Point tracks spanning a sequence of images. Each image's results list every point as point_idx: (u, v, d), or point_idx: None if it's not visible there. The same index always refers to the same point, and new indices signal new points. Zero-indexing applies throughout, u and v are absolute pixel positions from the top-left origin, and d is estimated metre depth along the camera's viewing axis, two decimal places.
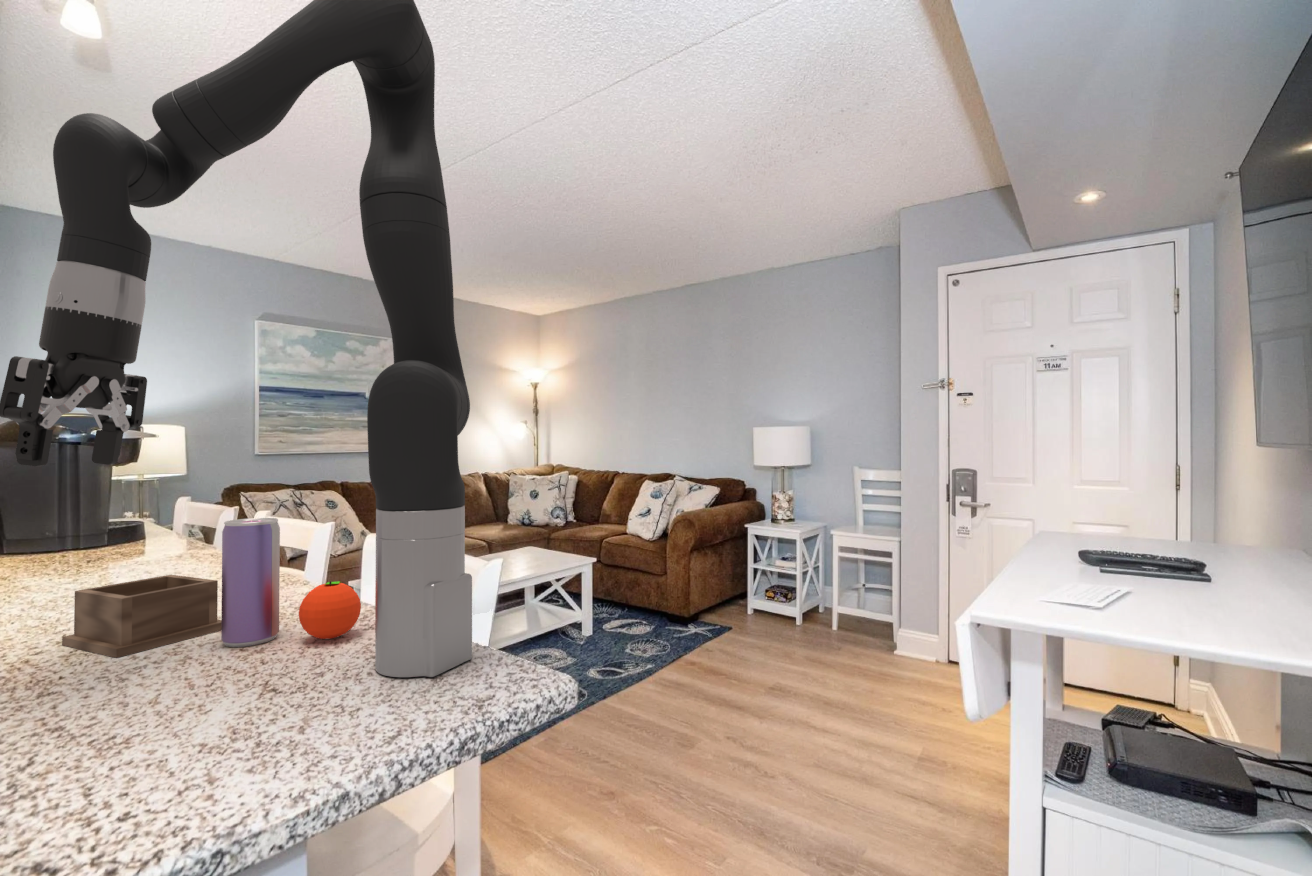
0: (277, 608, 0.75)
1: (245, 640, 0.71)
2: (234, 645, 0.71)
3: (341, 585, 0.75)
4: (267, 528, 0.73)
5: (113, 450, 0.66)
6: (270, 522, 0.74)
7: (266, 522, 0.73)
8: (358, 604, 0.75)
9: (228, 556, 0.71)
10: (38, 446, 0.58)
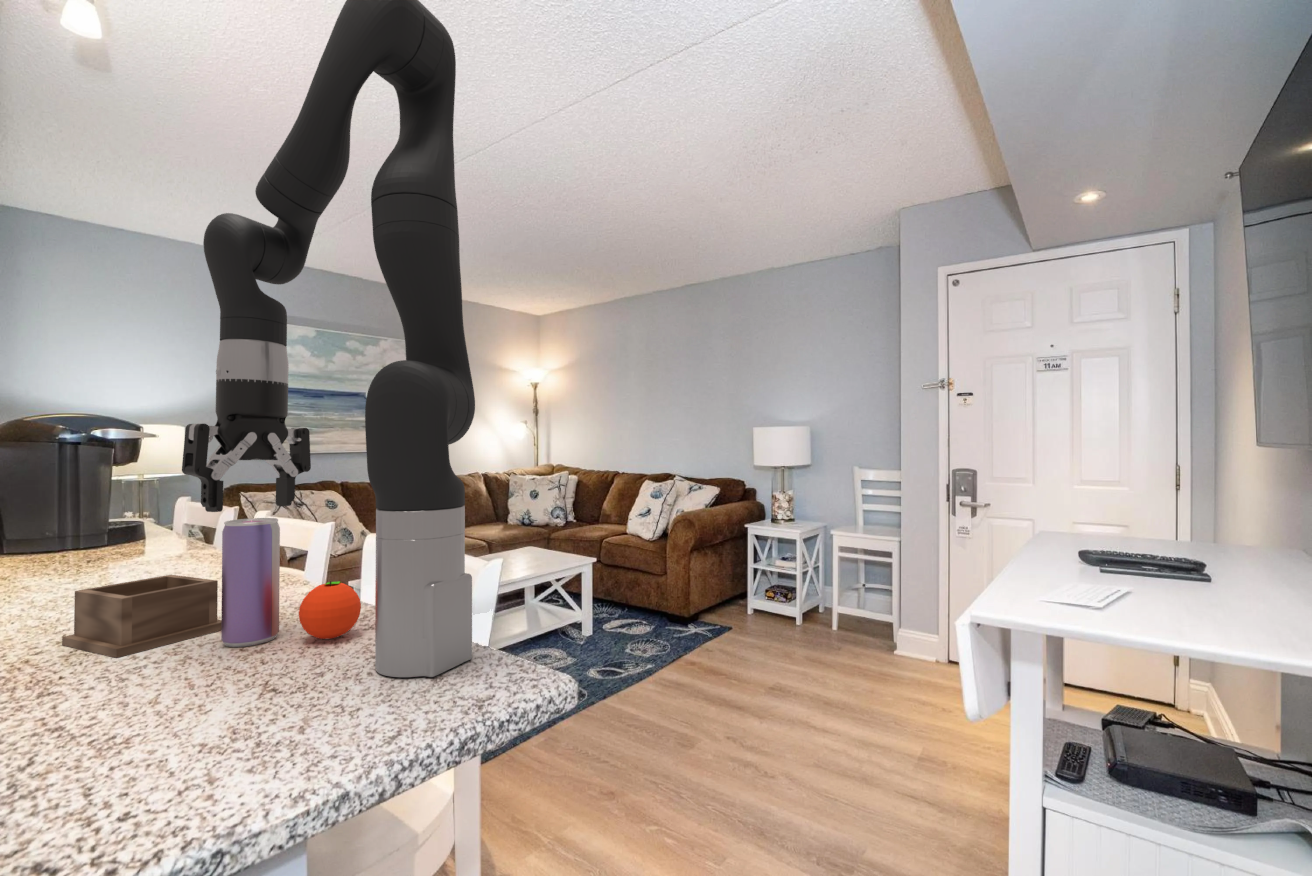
0: (277, 608, 0.75)
1: (245, 640, 0.71)
2: (234, 645, 0.71)
3: (341, 585, 0.75)
4: (267, 528, 0.73)
5: (286, 493, 0.77)
6: (270, 522, 0.74)
7: (266, 522, 0.73)
8: (358, 604, 0.75)
9: (228, 556, 0.71)
10: (213, 495, 0.69)
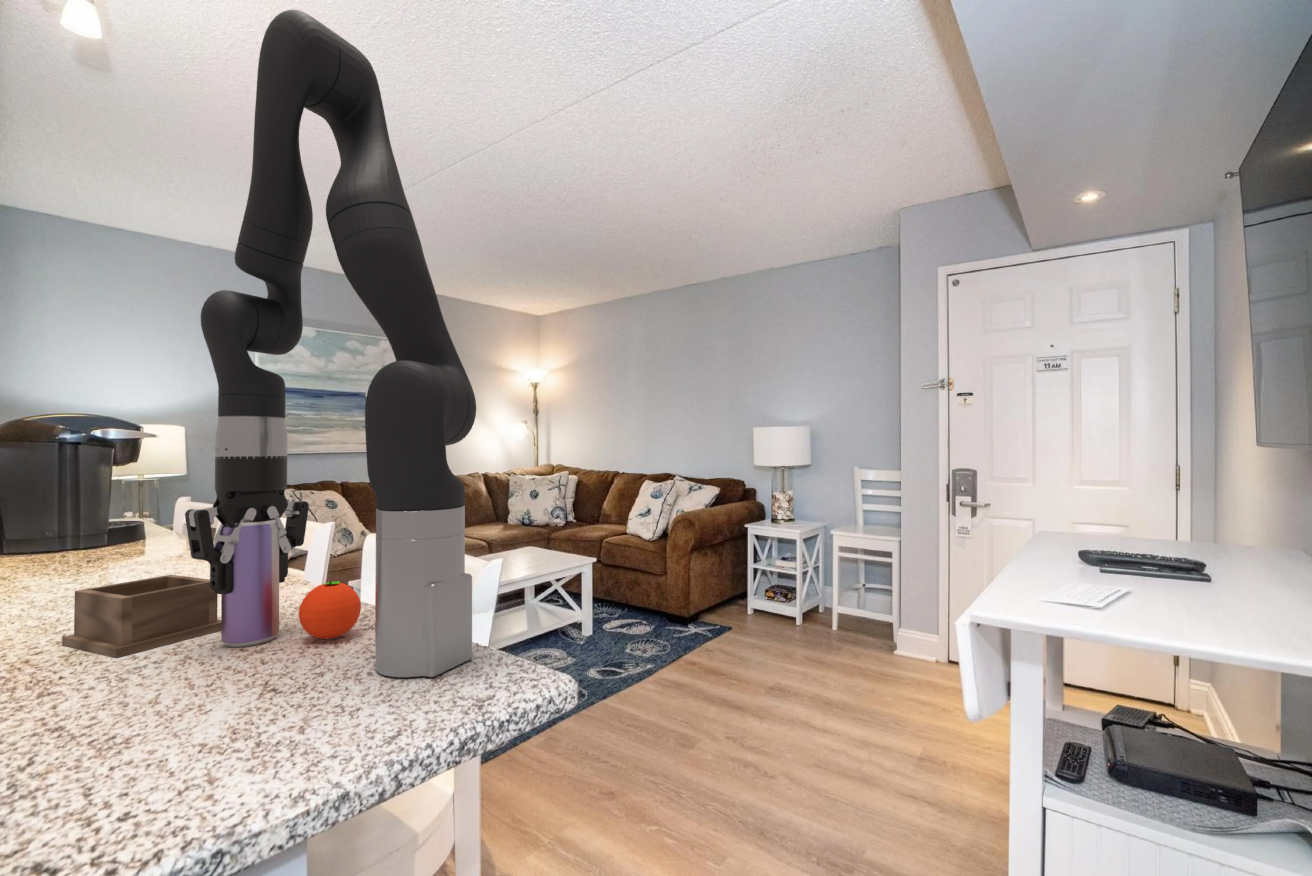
0: (277, 608, 0.75)
1: (244, 640, 0.71)
2: (234, 645, 0.71)
3: (341, 585, 0.75)
4: (267, 528, 0.73)
5: (279, 570, 0.76)
6: (269, 522, 0.74)
7: (265, 522, 0.73)
8: (358, 604, 0.75)
9: None
10: (222, 578, 0.70)
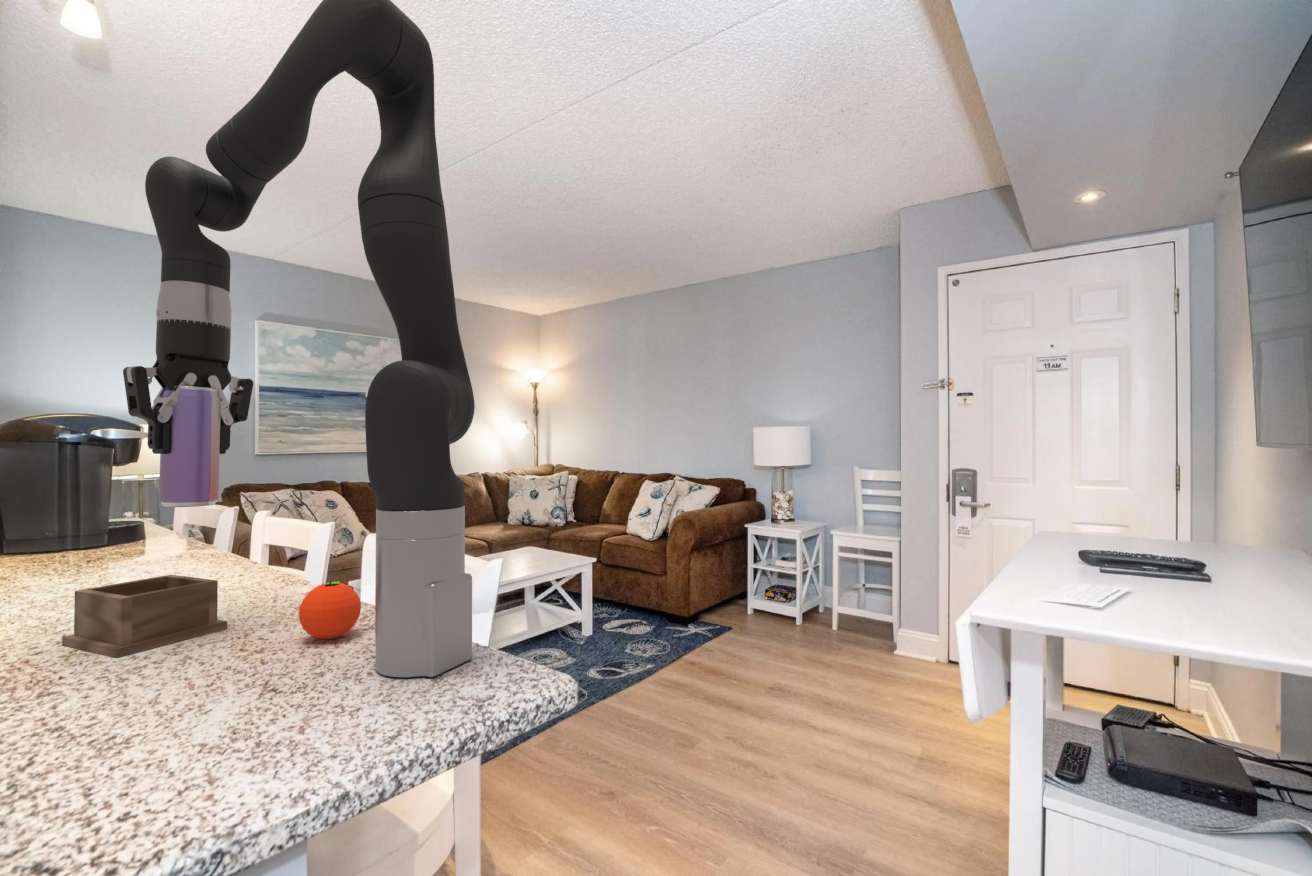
0: (216, 475, 0.76)
1: (181, 500, 0.73)
2: (171, 505, 0.73)
3: (341, 585, 0.75)
4: (207, 394, 0.75)
5: (220, 441, 0.78)
6: (210, 389, 0.75)
7: (206, 388, 0.75)
8: (358, 604, 0.75)
9: None
10: (160, 437, 0.72)
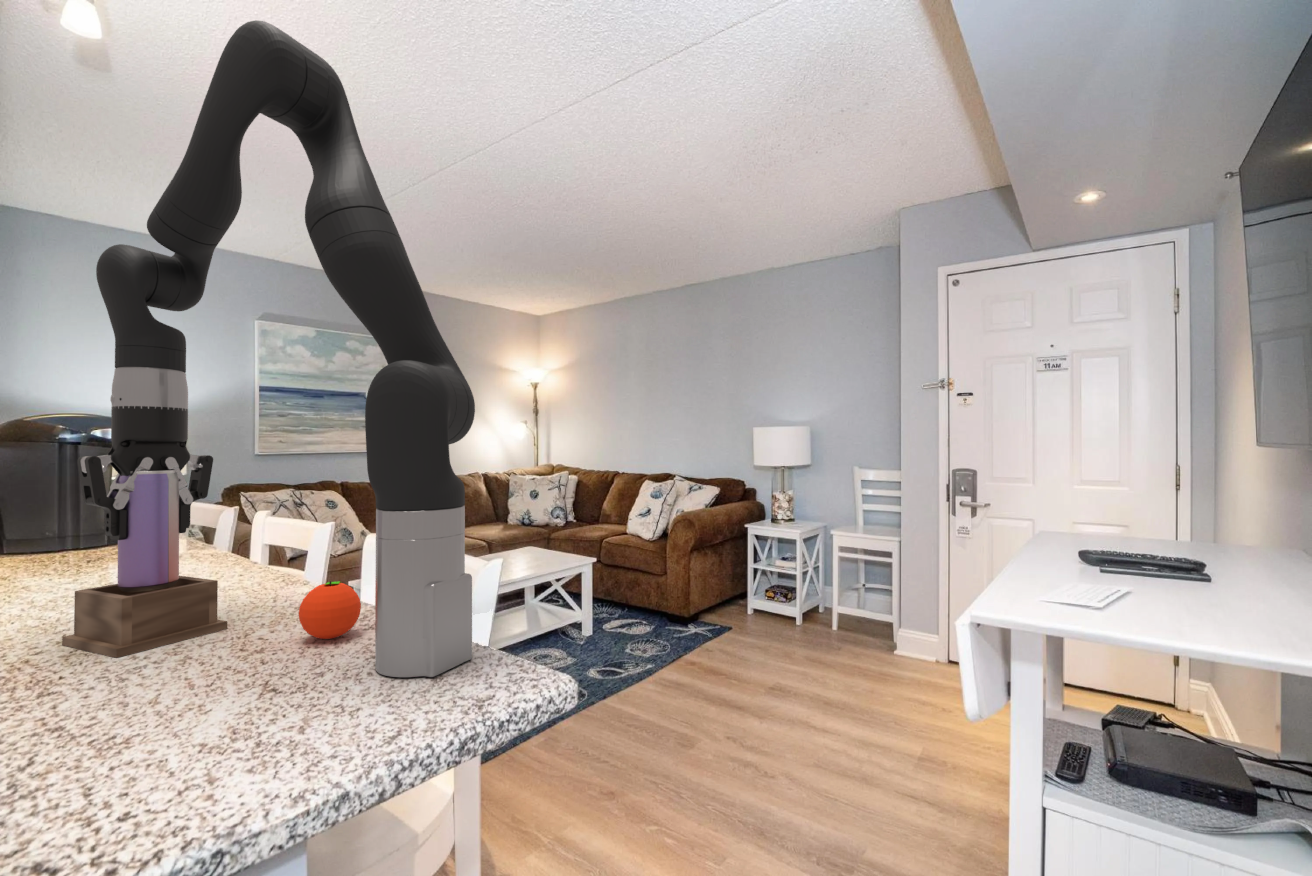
0: (175, 556, 0.76)
1: (139, 585, 0.73)
2: (129, 590, 0.73)
3: (341, 585, 0.75)
4: (163, 477, 0.75)
5: (180, 521, 0.78)
6: (167, 472, 0.75)
7: (162, 471, 0.75)
8: (358, 604, 0.75)
9: None
10: (116, 524, 0.72)
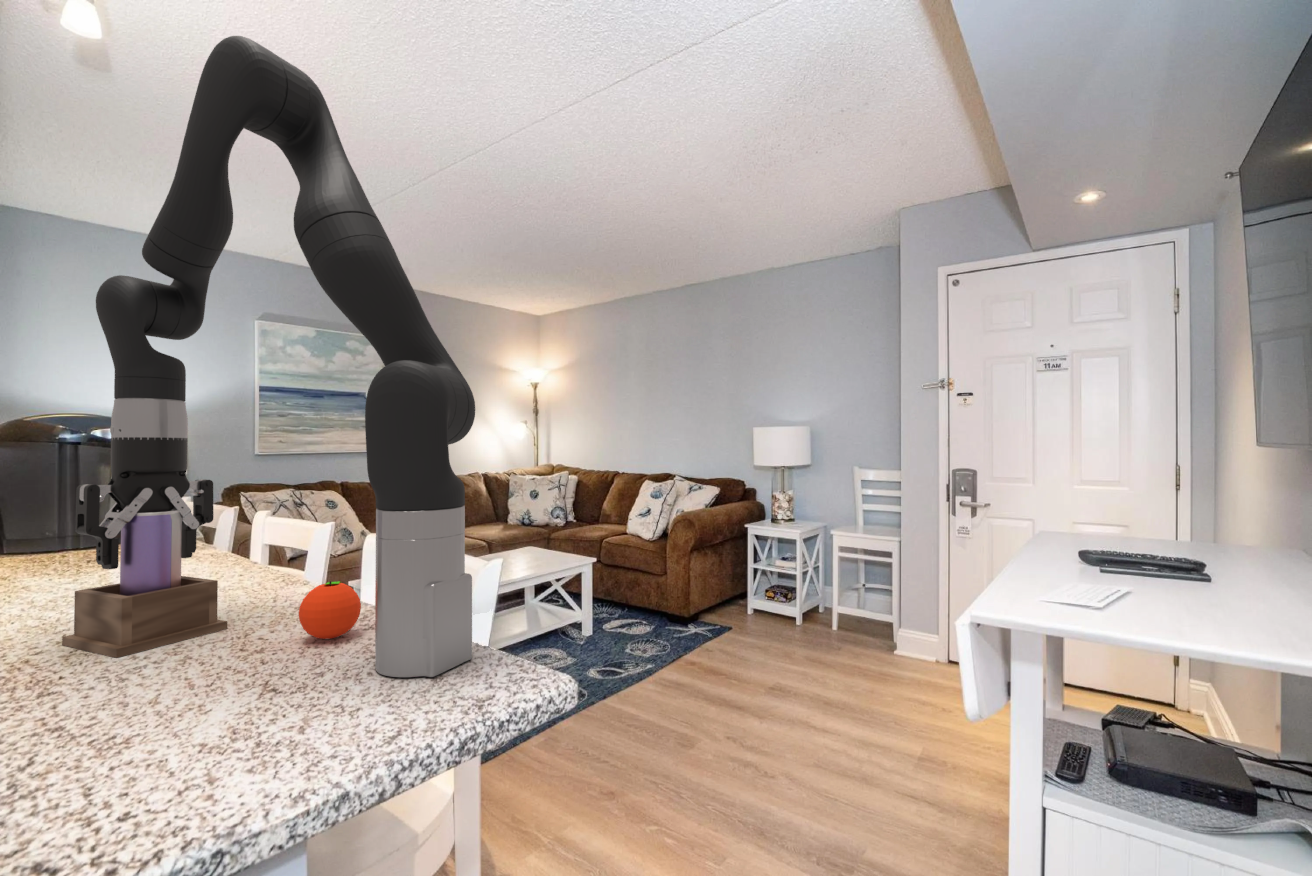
0: None
1: None
2: None
3: (341, 585, 0.75)
4: (167, 518, 0.75)
5: (186, 546, 0.79)
6: (170, 512, 0.76)
7: (165, 512, 0.75)
8: (358, 604, 0.75)
9: (126, 545, 0.73)
10: (108, 553, 0.71)
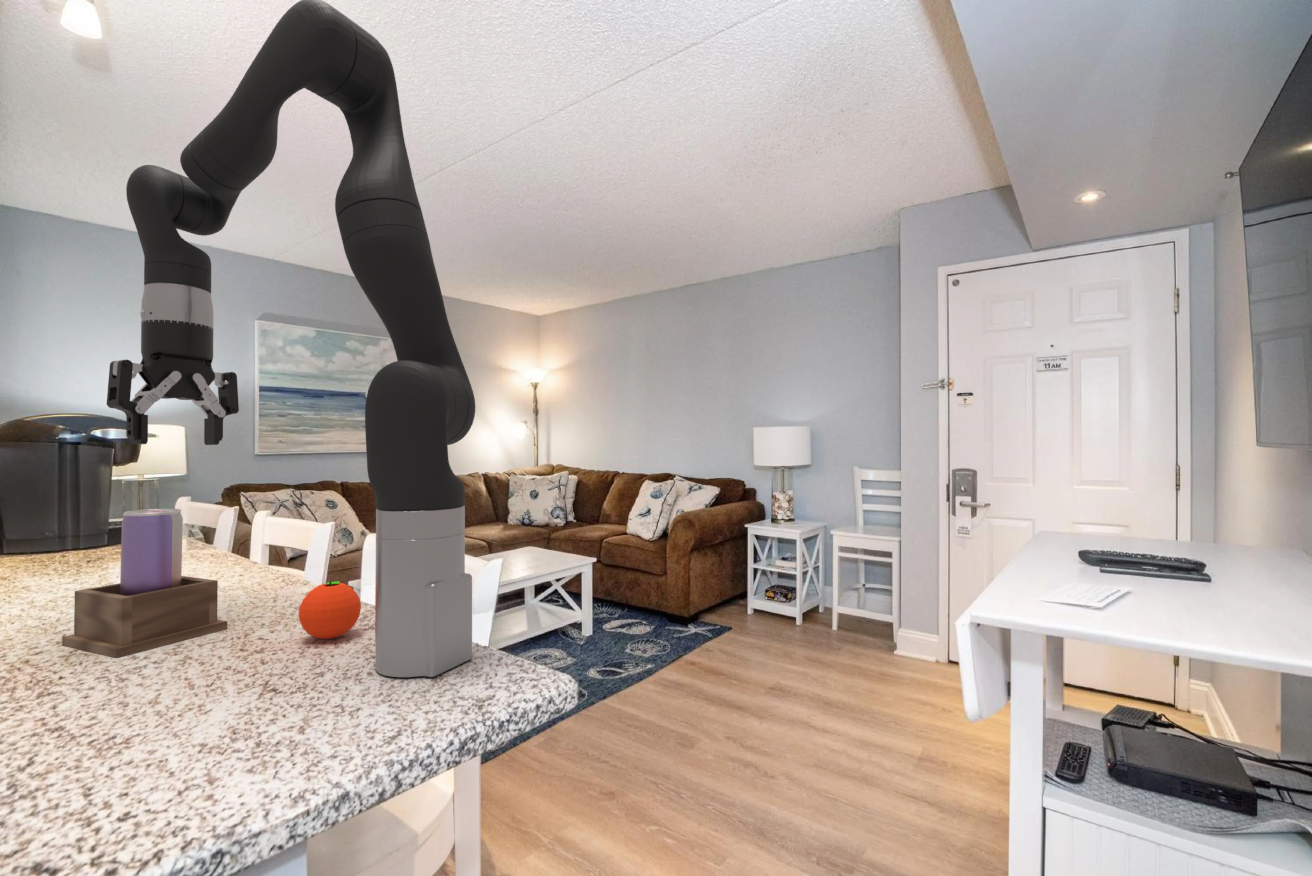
0: None
1: None
2: None
3: (341, 585, 0.75)
4: (167, 518, 0.75)
5: (214, 432, 0.82)
6: (171, 513, 0.76)
7: (166, 513, 0.75)
8: (358, 604, 0.75)
9: (126, 545, 0.73)
10: (138, 428, 0.74)
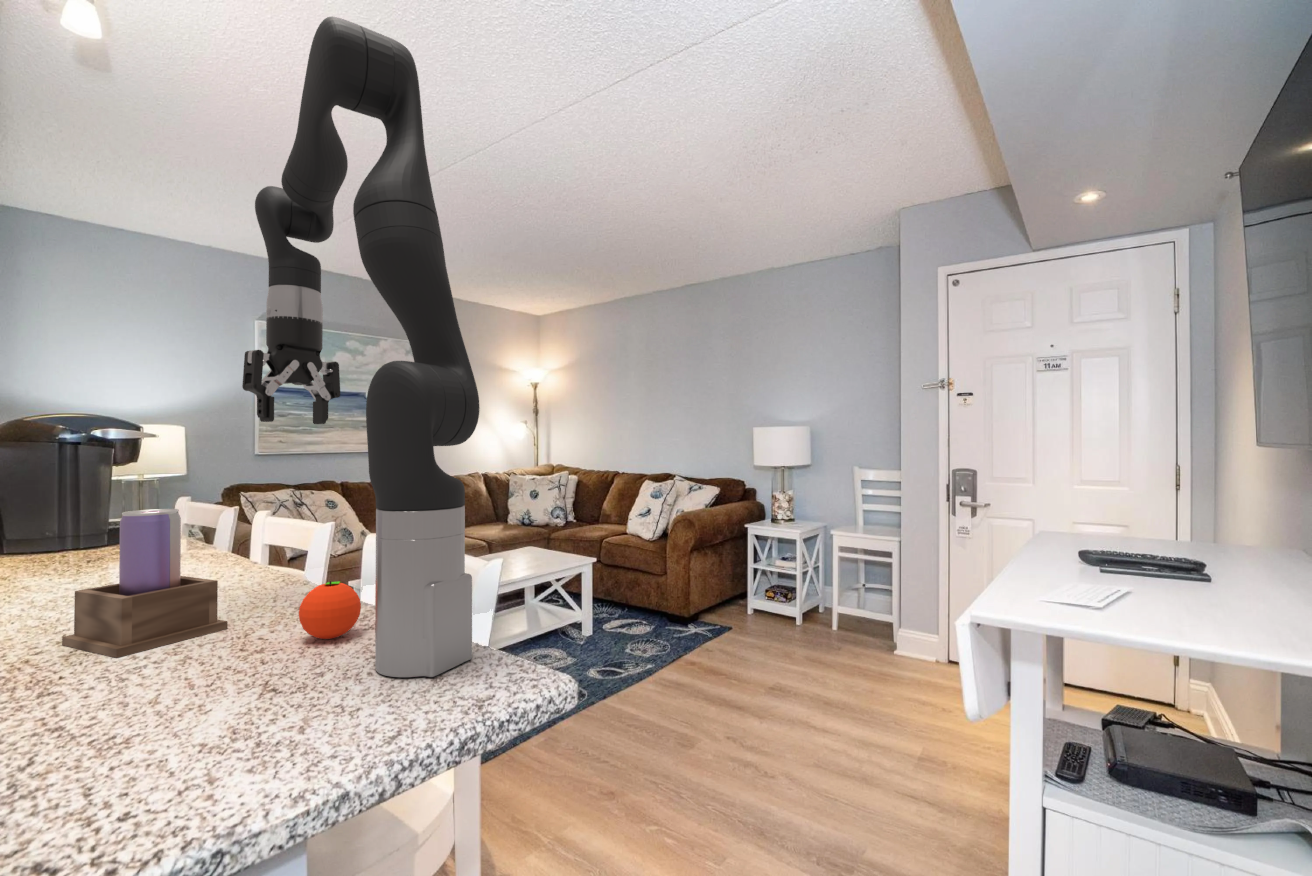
0: None
1: None
2: None
3: (341, 585, 0.75)
4: (165, 518, 0.75)
5: (321, 413, 0.95)
6: (168, 512, 0.76)
7: (163, 512, 0.75)
8: (358, 604, 0.75)
9: (124, 545, 0.73)
10: (267, 408, 0.87)
